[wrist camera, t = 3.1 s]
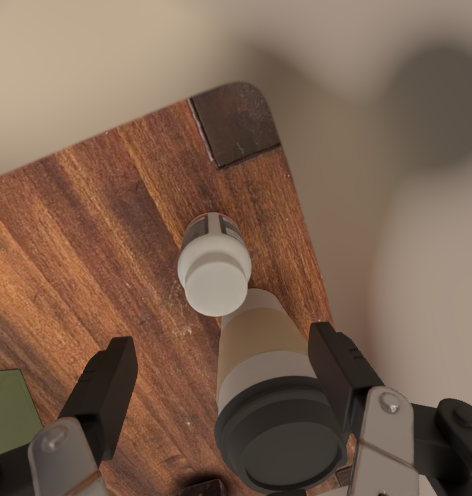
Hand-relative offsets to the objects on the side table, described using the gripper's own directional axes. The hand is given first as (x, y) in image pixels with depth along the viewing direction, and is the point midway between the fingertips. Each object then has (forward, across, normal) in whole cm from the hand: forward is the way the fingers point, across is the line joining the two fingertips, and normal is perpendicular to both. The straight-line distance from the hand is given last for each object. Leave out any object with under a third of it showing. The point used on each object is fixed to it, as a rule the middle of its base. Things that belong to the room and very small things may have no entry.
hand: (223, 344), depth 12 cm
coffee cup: (+15, -4, +9) cm, 18 cm away
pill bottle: (+15, 0, 0) cm, 15 cm away
